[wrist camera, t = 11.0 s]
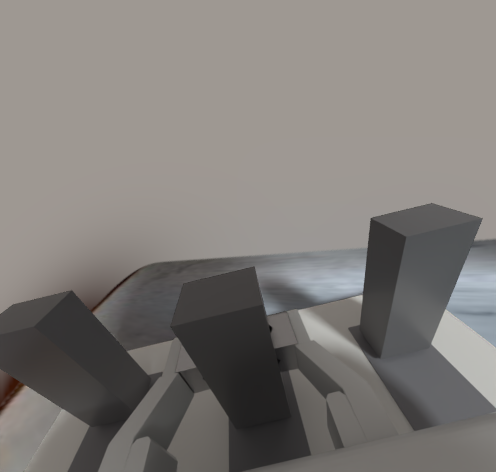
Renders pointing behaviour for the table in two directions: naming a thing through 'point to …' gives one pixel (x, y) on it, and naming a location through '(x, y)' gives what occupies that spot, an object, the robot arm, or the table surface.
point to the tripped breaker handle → (232, 346)
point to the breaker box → (303, 399)
